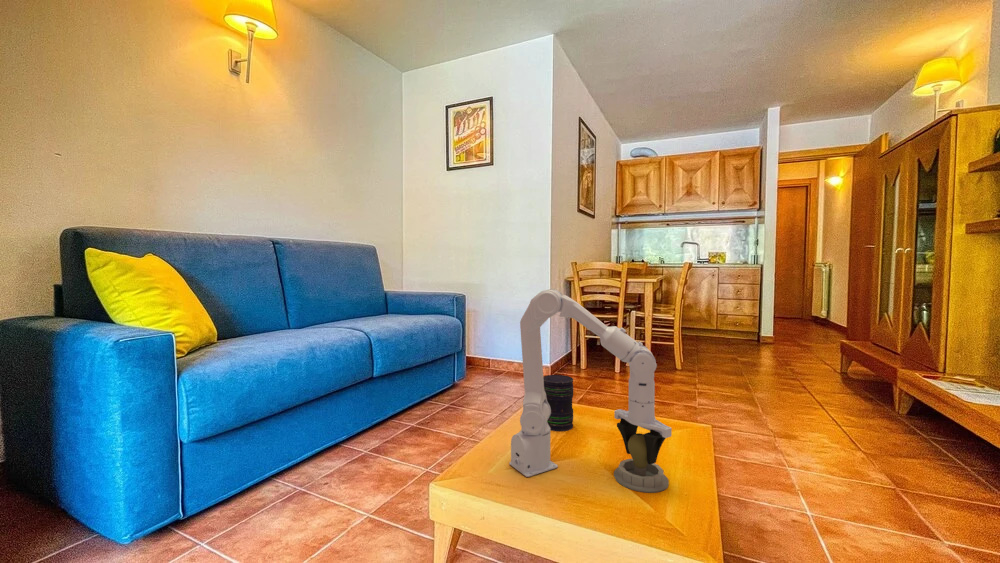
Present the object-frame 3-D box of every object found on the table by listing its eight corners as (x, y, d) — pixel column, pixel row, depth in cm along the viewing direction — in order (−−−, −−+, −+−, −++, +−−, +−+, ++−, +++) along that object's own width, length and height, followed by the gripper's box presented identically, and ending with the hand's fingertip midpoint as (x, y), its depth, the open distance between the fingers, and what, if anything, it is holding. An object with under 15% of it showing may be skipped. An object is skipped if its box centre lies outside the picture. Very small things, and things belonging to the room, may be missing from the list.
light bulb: (636, 484, 90) (636, 439, 90) (623, 472, 95) (623, 430, 95) (658, 481, 91) (658, 437, 91) (644, 470, 96) (644, 428, 96)
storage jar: (569, 419, 132) (569, 374, 131) (576, 431, 122) (577, 382, 122) (539, 420, 131) (539, 374, 131) (544, 431, 121) (544, 382, 121)
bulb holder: (645, 498, 85) (645, 486, 85) (603, 474, 95) (603, 464, 95) (679, 483, 91) (679, 472, 91) (636, 462, 102) (637, 452, 102)
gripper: (680, 405, 89) (679, 466, 89) (628, 389, 101) (628, 442, 101) (659, 410, 85) (659, 474, 85) (608, 393, 98) (608, 449, 98)
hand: (641, 457), depth 93 cm, fingers closed on light bulb, 5 cm apart
